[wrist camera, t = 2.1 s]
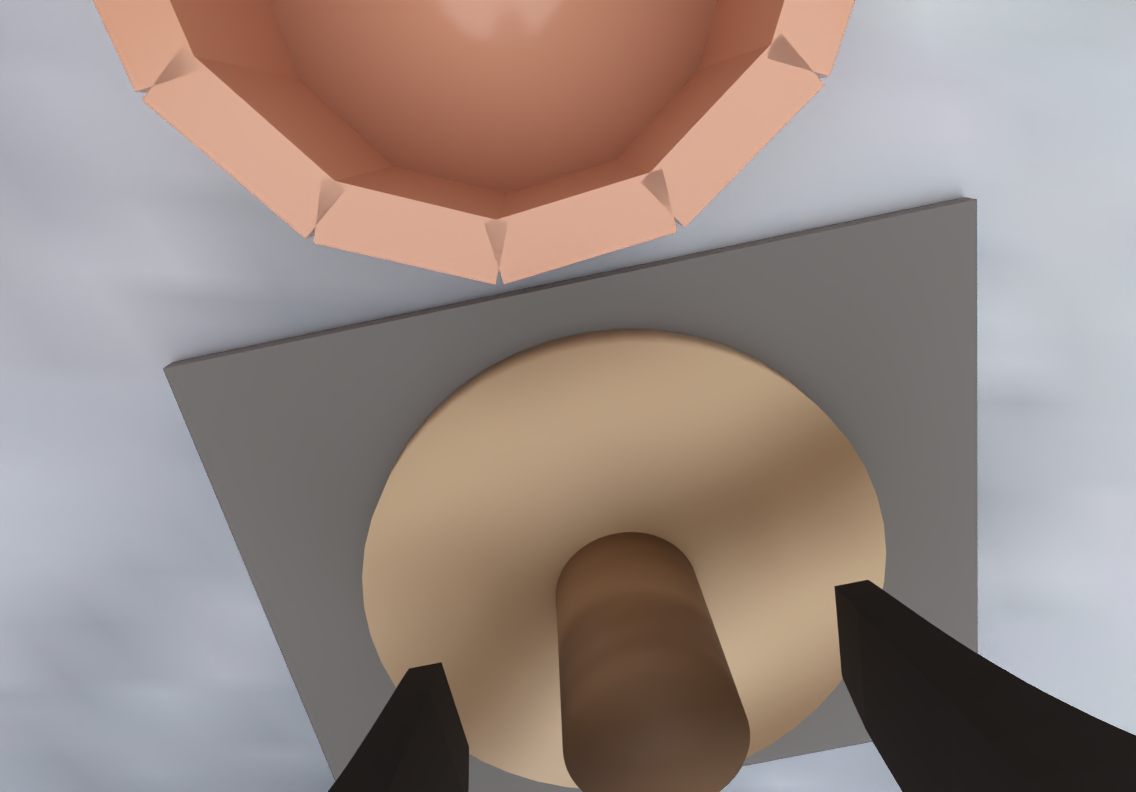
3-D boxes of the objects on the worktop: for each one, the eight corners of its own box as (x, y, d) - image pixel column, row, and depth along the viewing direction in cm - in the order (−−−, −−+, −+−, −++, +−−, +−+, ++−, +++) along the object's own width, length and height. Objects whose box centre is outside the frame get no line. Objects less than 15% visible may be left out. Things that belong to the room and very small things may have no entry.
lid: (963, 551, 17) (1133, 719, 12) (622, 822, 19) (650, 1050, 14) (621, 210, 14) (667, 253, 9) (269, 584, 16) (160, 772, 11)
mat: (968, 709, 19) (977, 721, 18) (362, 825, 19) (359, 838, 19) (964, 197, 14) (976, 199, 14) (172, 362, 15) (163, 368, 14)
